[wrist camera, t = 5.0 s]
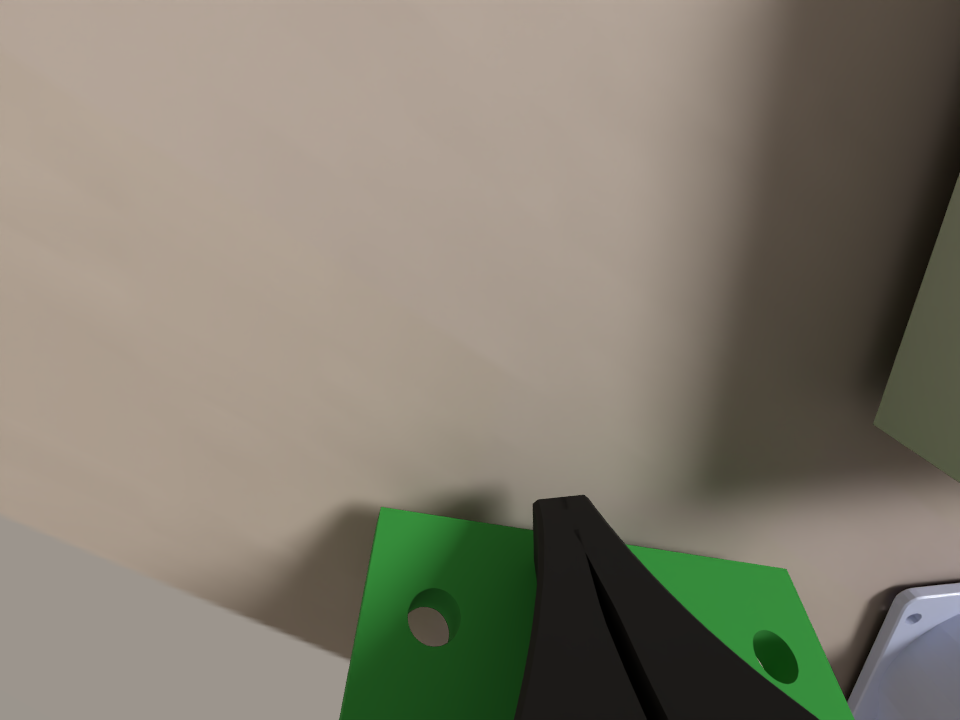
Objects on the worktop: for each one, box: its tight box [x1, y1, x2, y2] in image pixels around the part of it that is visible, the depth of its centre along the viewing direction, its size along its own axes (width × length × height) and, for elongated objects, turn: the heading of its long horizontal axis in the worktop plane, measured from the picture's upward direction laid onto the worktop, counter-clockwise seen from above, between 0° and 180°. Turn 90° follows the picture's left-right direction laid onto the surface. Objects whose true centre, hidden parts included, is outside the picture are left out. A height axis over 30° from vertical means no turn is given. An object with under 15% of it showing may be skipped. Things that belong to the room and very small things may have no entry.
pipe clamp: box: [339, 507, 855, 720], centre depth 12 cm, size 11×4×5 cm, turn 75°
